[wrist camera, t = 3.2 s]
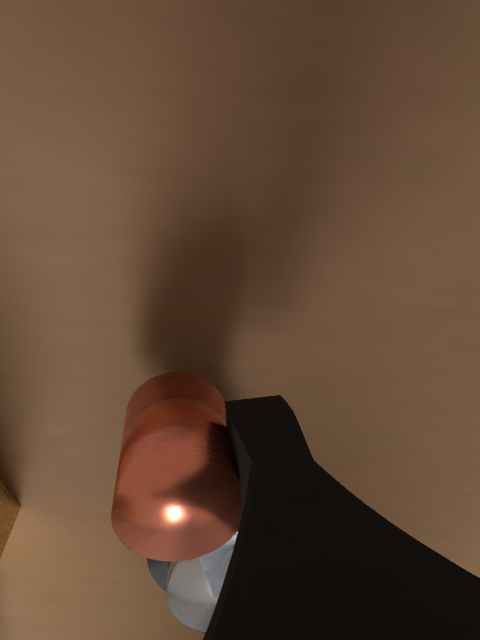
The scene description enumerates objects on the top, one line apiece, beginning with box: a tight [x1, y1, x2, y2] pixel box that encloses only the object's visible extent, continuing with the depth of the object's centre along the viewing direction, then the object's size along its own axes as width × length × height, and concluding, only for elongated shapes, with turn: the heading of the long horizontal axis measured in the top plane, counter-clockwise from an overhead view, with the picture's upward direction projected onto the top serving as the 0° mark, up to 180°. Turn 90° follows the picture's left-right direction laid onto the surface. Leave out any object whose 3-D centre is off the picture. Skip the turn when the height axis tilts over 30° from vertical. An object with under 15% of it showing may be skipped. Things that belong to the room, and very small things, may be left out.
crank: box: [111, 372, 242, 632], centre depth 11 cm, size 9×4×4 cm, turn 13°
